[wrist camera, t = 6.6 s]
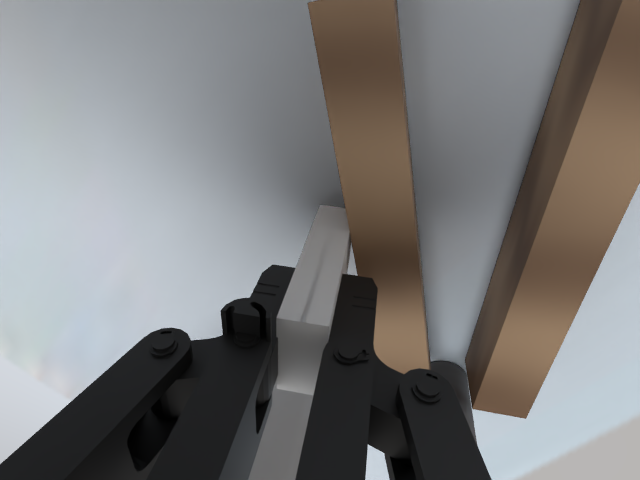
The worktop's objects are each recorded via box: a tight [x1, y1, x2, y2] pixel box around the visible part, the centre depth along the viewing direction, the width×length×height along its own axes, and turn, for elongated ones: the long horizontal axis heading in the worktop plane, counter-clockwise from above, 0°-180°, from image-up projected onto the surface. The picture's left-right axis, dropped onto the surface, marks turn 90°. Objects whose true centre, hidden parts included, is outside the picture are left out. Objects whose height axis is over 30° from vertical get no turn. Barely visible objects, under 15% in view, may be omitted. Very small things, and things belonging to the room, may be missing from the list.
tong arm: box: [308, 0, 431, 374], centre depth 16 cm, size 16×2×3 cm, turn 11°
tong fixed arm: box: [430, 0, 640, 444], centre depth 15 cm, size 19×4×4 cm, turn 178°
